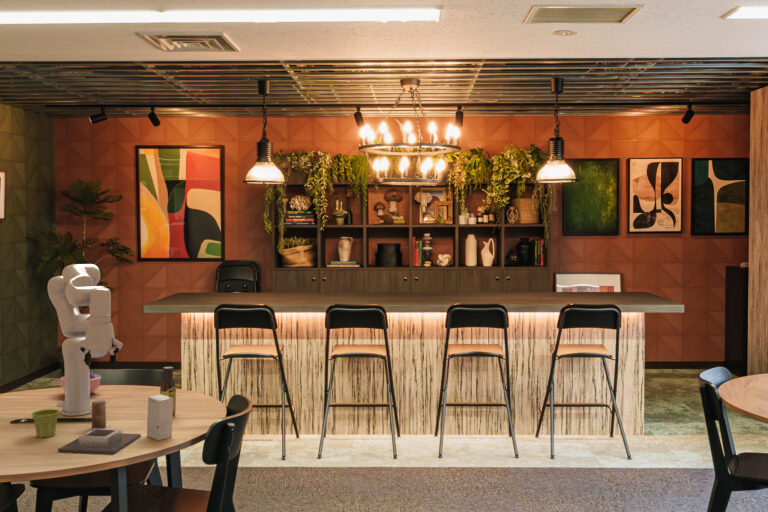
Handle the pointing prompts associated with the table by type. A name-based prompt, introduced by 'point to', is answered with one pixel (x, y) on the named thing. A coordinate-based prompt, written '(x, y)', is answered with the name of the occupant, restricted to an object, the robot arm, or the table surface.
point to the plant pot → (45, 422)
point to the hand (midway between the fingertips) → (100, 364)
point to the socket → (100, 442)
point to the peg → (99, 414)
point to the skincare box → (159, 417)
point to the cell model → (93, 382)
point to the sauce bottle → (168, 386)
